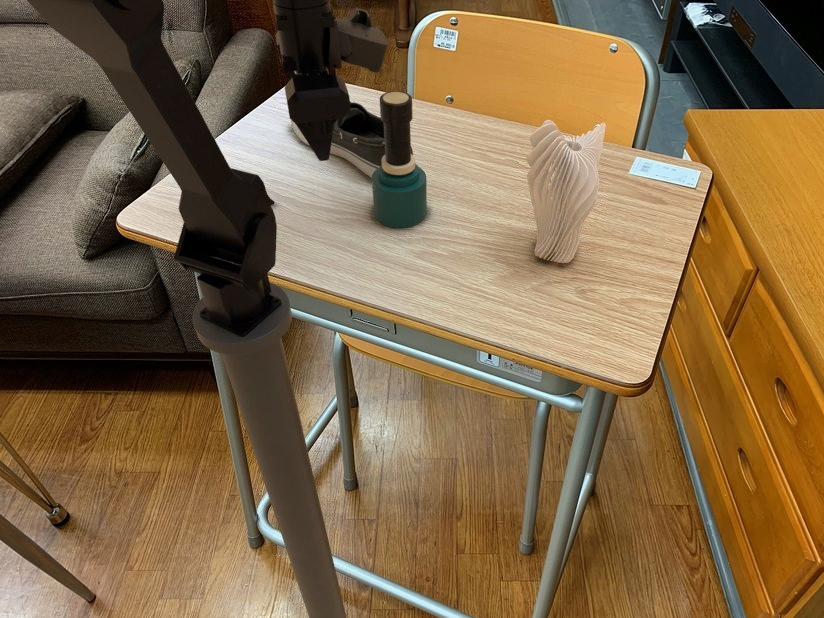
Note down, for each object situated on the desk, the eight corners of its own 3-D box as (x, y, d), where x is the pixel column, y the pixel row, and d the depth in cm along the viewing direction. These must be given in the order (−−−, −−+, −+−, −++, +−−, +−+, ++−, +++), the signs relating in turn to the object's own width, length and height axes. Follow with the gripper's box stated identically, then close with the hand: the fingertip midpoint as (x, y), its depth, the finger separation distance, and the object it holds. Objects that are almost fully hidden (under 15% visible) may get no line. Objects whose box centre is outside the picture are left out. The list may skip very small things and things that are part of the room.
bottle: (408, 234, 85) (406, 180, 80) (364, 217, 88) (359, 163, 82) (436, 207, 89) (436, 154, 84) (393, 192, 92) (390, 140, 86)
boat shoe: (323, 111, 108) (318, 67, 103) (434, 171, 96) (434, 124, 91) (279, 130, 104) (271, 85, 99) (390, 194, 91) (387, 147, 86)
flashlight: (402, 170, 81) (400, 108, 75) (377, 161, 82) (373, 99, 77) (419, 156, 83) (418, 95, 78) (394, 148, 85) (391, 87, 79)
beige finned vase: (592, 239, 85) (620, 106, 72) (579, 278, 80) (607, 142, 67) (529, 226, 87) (546, 94, 74) (513, 263, 81) (528, 127, 69)
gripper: (396, 27, 62) (401, 173, 73) (365, -33, 75) (373, 99, 86) (276, 36, 60) (300, 185, 71) (265, -28, 73) (287, 107, 84)
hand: (319, 140), depth 78 cm, fingers open, 9 cm apart
